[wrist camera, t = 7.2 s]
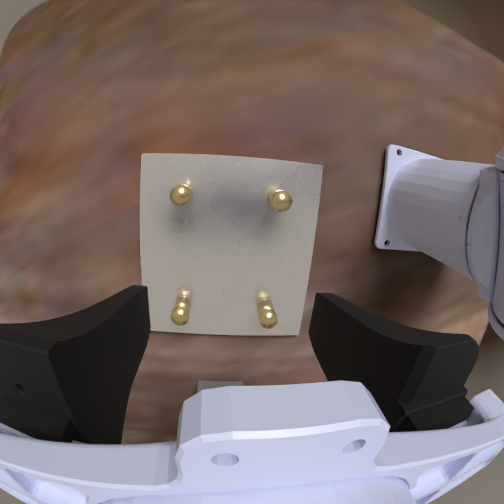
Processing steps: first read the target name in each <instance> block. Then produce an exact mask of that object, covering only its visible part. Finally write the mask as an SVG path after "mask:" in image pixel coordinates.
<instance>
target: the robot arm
mask: <svg viewBox="0 0 504 504" xmlns="http://www.w3.org/2000/svg"><path fill="white" fill-rule="evenodd" d="M397 150H399V155H397ZM494 159H495V165H489V164H481V163H473V162H463V161H452V160H443V159H440V158H437V157H434V156H431V155H428V154H425V153H421V152H418V151H415V150H411V149H408V148H405V147H401V146H397V145H389V146H388V147H387V149H386V160H385V170H384V179H383V188H382V196H381V203H380V210H379V217H378V223H377V229H376V235H375V241H374V244H375V246H376V247H377V248H379V249H391V250H406V251H420V252H423V253H425V254H427V255H429V256H431V257H432V258H434V259H436V260H438V261H440V262H442V263H443V264H445V265H447V266H449V267H451V268H452V269H454V270H456V271H458V272H460V273H461V274H463V275H465V276H466V277H468V278H470V279H472V280H473V281H475V282H476V284H477V295H478V296H479V297H481V298H482V299H484V300H485V301H487V302H488V303H489V307H488V317H489V321H490V324H491V326H492V328H493V329H494V331H495V332H496V333H497V334H498V335H499V336H500V337H501V338H502V339H503V340H504V146H503V147H502V149H501V150H500V151H499V153H498V154H496V155H495V158H494ZM386 240H387V244H386V245H384V242H385V241H386ZM150 329H151V324H150V313H149V300H148V286H139V285H133V286H130V287H128V288H126V289H124V290H122V291H120V292H118V293H116V294H115V295H113V296H111V297H109V298H107V299H105V300H103V301H101V302H99V303H97V304H95V305H93V306H91V307H88V308H86V309H84V310H81V311H78V312H75V313H73V314H70V315H66V316H62V317H58V318H54V319H50V320H45V321H39V322H31V323H13V324H0V488H1V489H3V490H4V491H6V492H8V493H9V494H11V495H13V496H14V497H16V498H18V499H19V500H21V501H23V502H25V503H27V504H428V503H429V502H431V501H433V500H435V499H436V498H438V497H440V496H441V495H443V494H445V493H446V492H448V491H449V490H451V489H453V488H454V487H456V486H457V485H459V484H460V483H462V482H463V481H465V480H466V479H468V478H469V477H471V476H472V475H474V474H475V473H477V472H478V471H480V470H481V469H482V468H484V467H485V466H486V465H487V464H488V463H490V461H491V460H492V459H493V458H494V457H495V456H496V455H497V454H498V453H499V451H501V449H502V448H503V447H504V403H503V402H502V401H501V400H500V399H499V398H498V397H497V396H496V395H495V394H494V393H493V392H492V391H491V390H490V389H488V390H486V391H484V392H482V393H480V394H477V395H475V396H474V397H472V399H470V400H469V401H468V400H467V399H466V397H465V395H466V394H467V393H468V392H467V389H465V387H464V384H465V382H466V380H467V378H468V377H469V374H470V373H471V371H472V369H473V367H474V365H475V363H476V360H477V357H478V344H477V342H476V341H475V340H474V339H473V338H472V337H470V336H469V335H467V334H451V333H439V332H432V331H426V330H421V329H416V328H412V327H408V326H405V325H401V324H398V323H395V322H393V321H390V320H387V319H384V318H382V317H380V316H377V315H375V314H373V313H371V312H369V311H366V310H364V309H362V308H360V307H358V306H356V305H355V304H353V303H351V302H349V301H347V300H345V299H343V298H341V297H339V296H337V295H334V294H331V293H316V296H315V302H314V307H313V312H312V317H311V322H310V327H309V336H310V340H311V344H312V347H313V350H314V352H315V354H316V357H317V359H318V361H319V363H320V365H321V367H322V369H323V371H324V374H325V376H326V378H327V380H328V382H320V383H308V384H293V385H270V386H225V387H219V388H212V389H205V390H201V391H200V392H198V393H197V394H195V395H193V396H192V397H190V398H189V399H187V400H185V401H184V403H183V406H182V409H181V412H180V415H179V422H178V431H177V441H171V442H160V443H145V444H121V440H122V432H123V425H124V419H125V413H126V408H127V403H128V398H129V394H130V390H131V386H132V383H133V381H134V378H135V375H136V373H137V370H138V367H139V365H140V362H141V360H142V357H143V354H144V352H145V349H146V346H147V343H148V339H149V334H150Z"/></svg>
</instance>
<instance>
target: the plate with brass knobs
mask: <svg viewBox="0 0 504 504" xmlns="http://www.w3.org/2000/svg"><path fill="white" fill-rule="evenodd" d="M322 172H323V165H316V164H308V163H300V162H292V161H283V160H274V159H263V158H252V157H239V156H223V155H204V154H162V153H148V154H142V157H141V177H140V256H141V276H142V286H148V300H149V313H150V324H151V329H150V330H151V331H163V332H177V333H193V334H215V335H299V331H300V326H301V320H302V315H303V309H304V303H305V298H306V292H307V286H308V279H309V273H310V267H311V260H312V253H313V246H314V239H315V232H316V224H317V216H318V208H319V200H320V191H321V182H322Z"/></svg>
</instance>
